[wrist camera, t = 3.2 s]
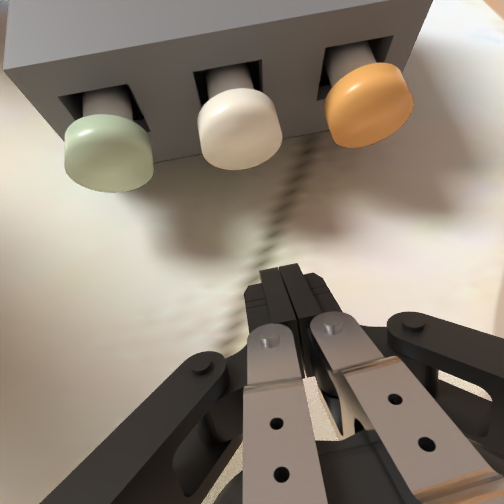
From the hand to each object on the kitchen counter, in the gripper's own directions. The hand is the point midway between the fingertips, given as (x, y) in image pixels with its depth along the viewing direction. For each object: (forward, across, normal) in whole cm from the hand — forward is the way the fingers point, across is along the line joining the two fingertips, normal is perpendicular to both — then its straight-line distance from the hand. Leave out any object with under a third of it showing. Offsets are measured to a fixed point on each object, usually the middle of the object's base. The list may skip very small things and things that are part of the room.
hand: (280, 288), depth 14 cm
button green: (+9, +7, -5) cm, 12 cm away
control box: (+15, 0, -8) cm, 17 cm away
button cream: (+9, 0, -5) cm, 10 cm away
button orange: (+9, -6, -5) cm, 12 cm away
